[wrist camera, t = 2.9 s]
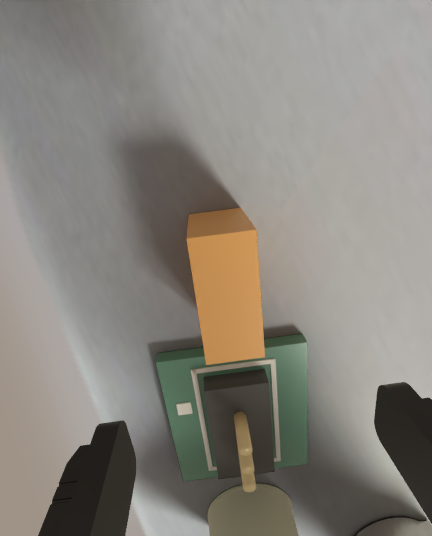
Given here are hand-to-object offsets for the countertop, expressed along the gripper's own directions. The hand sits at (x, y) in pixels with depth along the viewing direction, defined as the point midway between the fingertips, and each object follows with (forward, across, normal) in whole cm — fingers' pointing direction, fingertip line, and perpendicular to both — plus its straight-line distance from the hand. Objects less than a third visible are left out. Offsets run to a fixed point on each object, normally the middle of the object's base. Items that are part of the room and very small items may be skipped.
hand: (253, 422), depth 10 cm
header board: (+14, 0, +14) cm, 20 cm away
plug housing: (+14, 0, 0) cm, 14 cm away
